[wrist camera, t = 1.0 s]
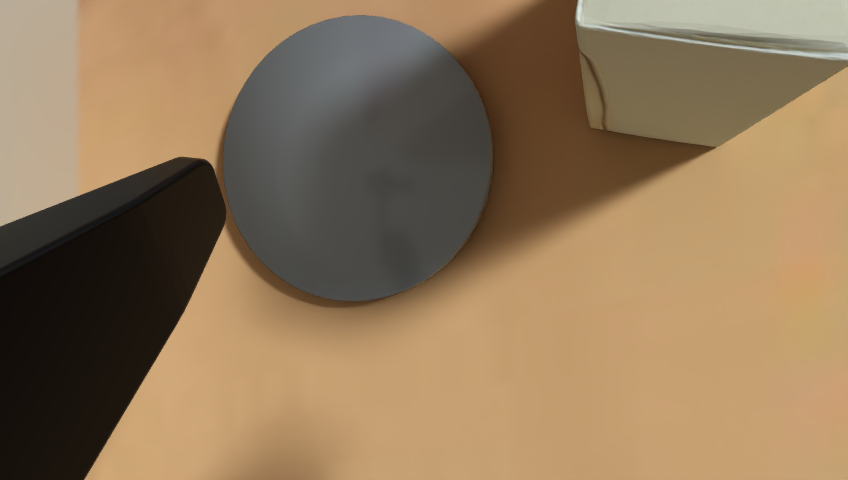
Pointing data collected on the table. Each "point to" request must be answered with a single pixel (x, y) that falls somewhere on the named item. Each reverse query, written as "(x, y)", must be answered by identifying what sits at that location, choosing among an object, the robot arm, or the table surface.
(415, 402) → the table surface
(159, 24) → the table surface
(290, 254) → the charcoal coaster
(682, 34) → the skincare box
